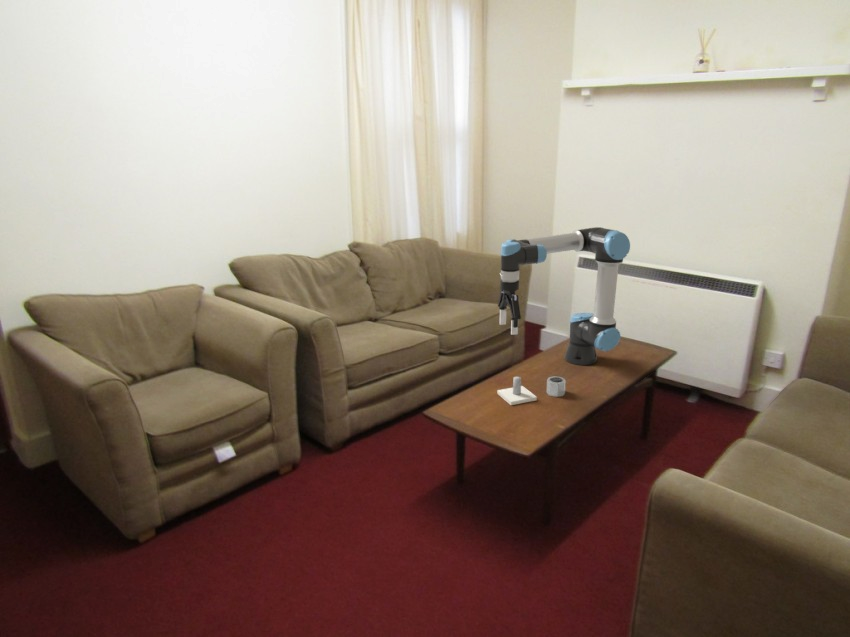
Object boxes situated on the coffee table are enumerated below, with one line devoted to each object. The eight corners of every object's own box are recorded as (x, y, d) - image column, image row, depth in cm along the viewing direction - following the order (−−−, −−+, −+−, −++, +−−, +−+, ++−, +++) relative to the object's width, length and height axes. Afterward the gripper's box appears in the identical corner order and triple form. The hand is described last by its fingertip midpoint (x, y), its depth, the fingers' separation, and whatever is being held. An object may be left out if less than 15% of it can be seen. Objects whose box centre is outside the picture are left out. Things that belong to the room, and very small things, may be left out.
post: (522, 388, 244) (522, 370, 241) (536, 400, 233) (537, 381, 230) (497, 393, 240) (497, 375, 237) (510, 405, 229) (511, 386, 227)
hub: (558, 388, 244) (558, 375, 242) (567, 394, 237) (568, 381, 235) (543, 390, 241) (544, 378, 240) (553, 397, 235) (553, 384, 233)
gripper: (491, 274, 243) (490, 321, 249) (512, 288, 219) (510, 339, 226) (507, 272, 244) (506, 319, 251) (530, 286, 221) (528, 337, 227)
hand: (508, 329), depth 238 cm, fingers open, 13 cm apart
